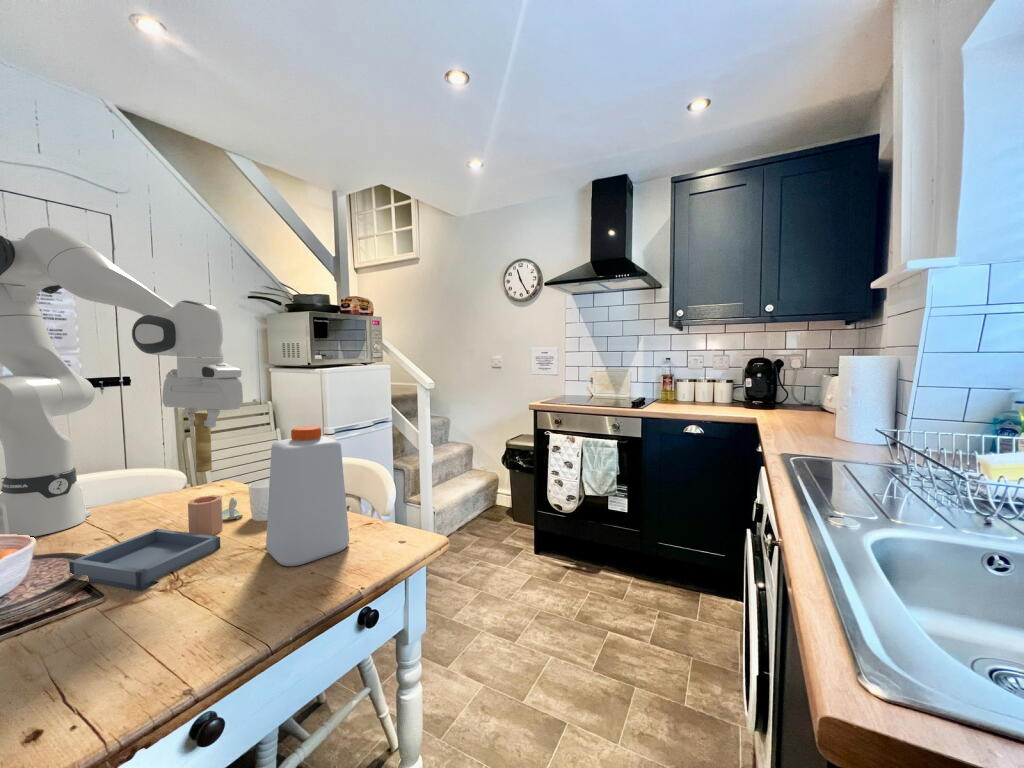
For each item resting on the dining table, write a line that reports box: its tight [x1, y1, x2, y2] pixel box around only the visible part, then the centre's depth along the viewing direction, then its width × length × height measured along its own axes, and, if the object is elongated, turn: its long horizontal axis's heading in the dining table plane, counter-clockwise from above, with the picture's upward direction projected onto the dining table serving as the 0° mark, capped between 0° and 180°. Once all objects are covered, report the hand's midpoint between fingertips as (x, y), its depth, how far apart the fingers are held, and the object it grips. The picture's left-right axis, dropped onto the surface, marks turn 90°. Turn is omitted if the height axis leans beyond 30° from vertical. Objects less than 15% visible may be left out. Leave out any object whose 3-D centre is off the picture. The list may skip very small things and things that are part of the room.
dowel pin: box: [194, 411, 213, 473], centre depth 98 cm, size 3×3×14 cm
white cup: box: [248, 478, 270, 522], centre depth 109 cm, size 8×8×10 cm
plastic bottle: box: [265, 425, 350, 567], centre depth 92 cm, size 15×15×28 cm
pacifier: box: [222, 497, 244, 521], centre depth 108 cm, size 7×6×6 cm
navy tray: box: [68, 528, 221, 592], centre depth 85 cm, size 18×16×4 cm
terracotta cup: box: [187, 494, 224, 536], centre depth 99 cm, size 6×6×9 cm
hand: (202, 427), depth 97 cm, fingers closed on dowel pin, 3 cm apart
